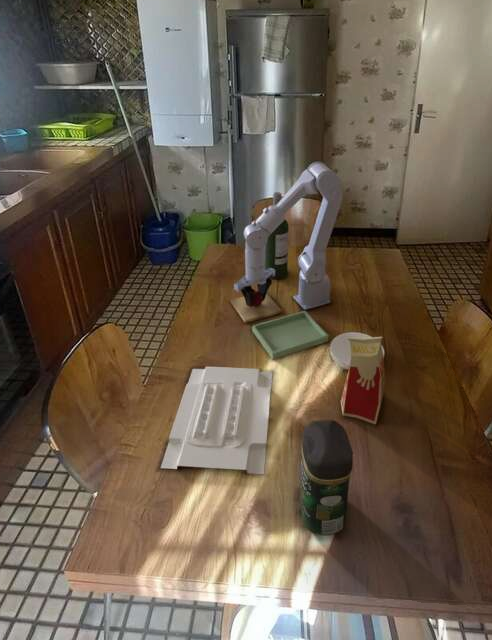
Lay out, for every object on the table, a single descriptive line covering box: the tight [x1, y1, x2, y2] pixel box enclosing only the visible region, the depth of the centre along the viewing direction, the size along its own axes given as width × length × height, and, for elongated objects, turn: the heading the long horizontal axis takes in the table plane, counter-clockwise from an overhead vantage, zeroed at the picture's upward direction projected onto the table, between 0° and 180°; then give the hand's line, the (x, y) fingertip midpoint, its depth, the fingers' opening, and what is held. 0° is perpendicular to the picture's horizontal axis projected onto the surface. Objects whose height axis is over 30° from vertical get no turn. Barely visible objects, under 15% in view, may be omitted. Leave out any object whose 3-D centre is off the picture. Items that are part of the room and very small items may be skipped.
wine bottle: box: [264, 191, 290, 280], centre depth 147 cm, size 8×8×30 cm
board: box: [230, 292, 283, 324], centre depth 135 cm, size 12×12×1 cm
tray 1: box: [160, 366, 274, 475], centre depth 97 cm, size 20×28×4 cm
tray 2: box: [251, 310, 330, 360], centre depth 122 cm, size 17×13×2 cm
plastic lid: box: [329, 331, 385, 371], centre depth 115 cm, size 14×14×2 cm
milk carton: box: [340, 336, 386, 425], centre depth 96 cm, size 9×9×20 cm
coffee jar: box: [299, 419, 354, 536], centre depth 74 cm, size 10×8×19 cm
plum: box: [253, 290, 263, 306], centre depth 133 cm, size 5×5×5 cm
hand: (255, 302), depth 134 cm, fingers closed on plum, 4 cm apart
